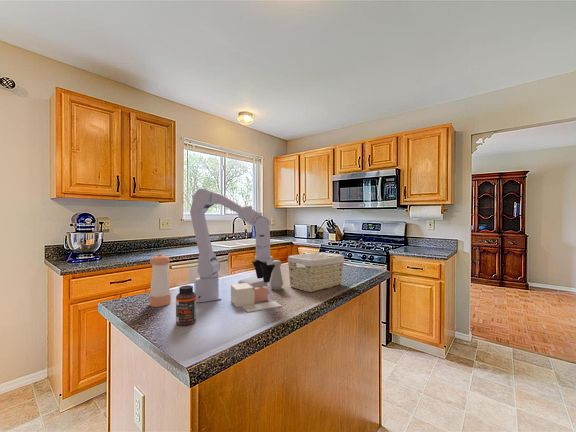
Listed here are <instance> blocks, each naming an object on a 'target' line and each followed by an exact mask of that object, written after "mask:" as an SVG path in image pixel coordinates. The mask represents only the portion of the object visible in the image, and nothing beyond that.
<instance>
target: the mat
mask: <svg viewBox="0 0 576 432" xmlns="http://www.w3.org/2000/svg"><path fill="white" fill-rule="evenodd" d="M241 307H242V308H243V310H245V312H246V313H252V312H258V311H264V310H271V309H275V308H276V309H277V308H281V307H282V305H281V304H280V303H278V302H277V301H276V300H272V301H266V302H260V303H255V304H253V305H246V306H241Z"/></svg>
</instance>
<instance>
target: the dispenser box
mask: <svg viewBox="0 0 576 432" xmlns="http://www.w3.org/2000/svg"><path fill="white" fill-rule="evenodd" d="M230 302H231V303H232V304H233V305H234V306H235V307H236V308H238V307H239V308H240V307H242V306H246V305H253V304H256V302H255V292H254V287H253V286H252V285H250V284H249V283H241V284H238V283H234V284H230Z"/></svg>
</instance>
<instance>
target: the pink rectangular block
mask: <svg viewBox="0 0 576 432" xmlns="http://www.w3.org/2000/svg"><path fill="white" fill-rule="evenodd" d="M254 292H255V303H258V302H263V301H269V288H268V286H267V287H266V286H264V287H256V288H254Z"/></svg>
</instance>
